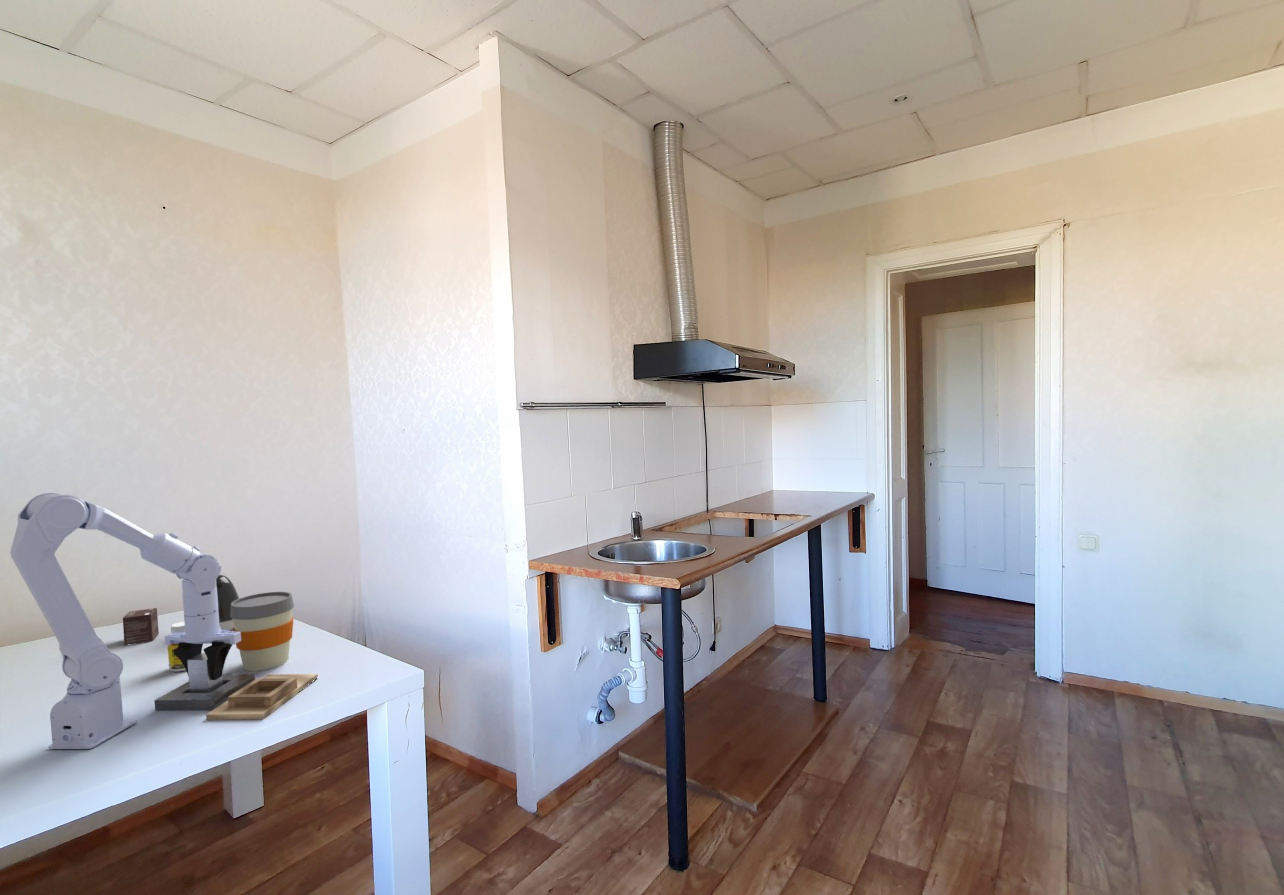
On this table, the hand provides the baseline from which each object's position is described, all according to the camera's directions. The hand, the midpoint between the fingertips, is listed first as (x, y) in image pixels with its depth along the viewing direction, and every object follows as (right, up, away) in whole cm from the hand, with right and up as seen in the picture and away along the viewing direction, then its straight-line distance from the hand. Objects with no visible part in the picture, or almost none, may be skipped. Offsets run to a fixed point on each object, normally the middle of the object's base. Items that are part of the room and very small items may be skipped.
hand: (206, 678), depth 128 cm
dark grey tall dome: (-25, -3, +42) cm, 48 cm away
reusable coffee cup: (+2, -3, +17) cm, 17 cm away
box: (-42, -4, +37) cm, 56 cm away
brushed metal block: (0, -3, 0) cm, 3 cm away
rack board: (+13, -3, -1) cm, 14 cm away
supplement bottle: (-16, -4, +16) cm, 23 cm away
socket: (0, -4, 0) cm, 4 cm away
